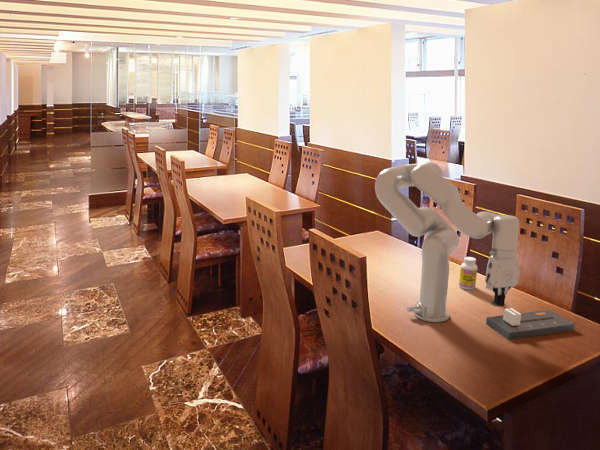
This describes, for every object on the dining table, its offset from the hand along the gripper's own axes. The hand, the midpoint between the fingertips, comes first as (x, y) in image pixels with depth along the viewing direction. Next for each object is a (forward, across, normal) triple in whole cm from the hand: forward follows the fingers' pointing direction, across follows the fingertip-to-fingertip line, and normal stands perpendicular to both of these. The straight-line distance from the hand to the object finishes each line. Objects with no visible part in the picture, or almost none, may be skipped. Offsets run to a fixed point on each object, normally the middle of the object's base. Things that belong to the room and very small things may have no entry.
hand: (499, 304), depth 167 cm
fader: (+8, +6, +1) cm, 10 cm away
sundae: (+11, +16, +21) cm, 29 cm away
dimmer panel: (+11, +14, +1) cm, 18 cm away
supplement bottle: (+10, +14, +39) cm, 43 cm away
